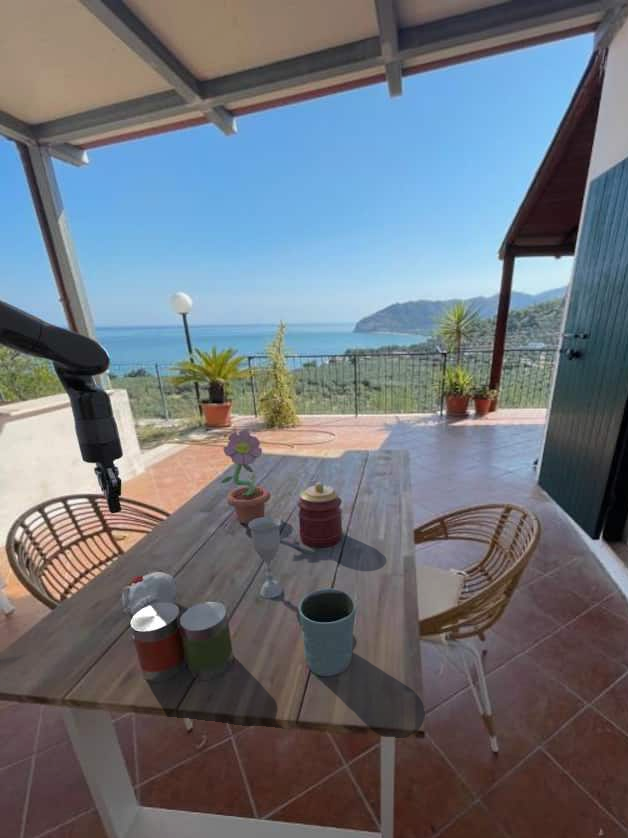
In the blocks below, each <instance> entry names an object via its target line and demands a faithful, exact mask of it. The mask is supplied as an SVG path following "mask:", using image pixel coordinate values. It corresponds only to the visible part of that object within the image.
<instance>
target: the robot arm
mask: <svg viewBox="0 0 628 838" xmlns="http://www.w3.org/2000/svg"><path fill="white" fill-rule="evenodd" d="M0 346H1V347H4V348H7V349H10V350H12V351H15V352H18V353H20V354H23V355H25V356H28V357H32V358H35V359H36V358H37V359H44V360H48V361H51V363H52V366H53V370H54V371H55V374H56V377H57V378H58V379H59V382H60V384H61V386H62V388H63V389H64V391H65V393H66V395H67V396H68V399H69V403H70V408H71V412H72V416H73V420H74V421H73V422H74V431H75V436H76V438H77V439H76V440H77V443H78V447H79V451H80V455H81V459H82V461H83V463H87V464H95V465H96V466H95V467H93V472H94V475H96V479H97V482H98V483H97V484H98V486H99V487H100V490H101V492H102V494H103V496H104V497H105V501H106V504H107V508H108V511H109V513H110V514H117V513H120V512H122V506H121V500H120V497H121V496H122V478H121V477H120V476H119V475H120V469H119V467H118V466H116V465H115V463H114V462H115V460H119V459H122V458H123V456H124V453H123V447H122V443H121V437H120V433H119V428H118V424H117V421H116V419H115V416H114V410H113V407H112V402H111V401H112V400H111V396H110V393H109V392H108V391H107V390H106V389H105V388H102V387H101V386H99V385H98V384H97V382H96V380H95V378H94V377H96V376H97V377H98V376H100V375H103V374H104V373H106V372H107V371H108V370H109V368H110V365H111V358H110V355H109V352H108V351H107V349H106V348H105V347H104V346H103V345H102V344H101V343H99V342H98V341H97V340H95V339H93V338H91V337H89V336H86V335H83V334H80V333H78V332H75V331H72V330H69V329H67V328H65V327H61V326H57V325H54V324H51V323H49V322H47V321H45V320H43V319H41V318H39V317H37V316H36V315H33V314H31V313H29V312H27V311H25V310H23V309H20V308H19V307H16V306H14V305H12V304H10V303H8V302H6V301H2V300H0Z"/></svg>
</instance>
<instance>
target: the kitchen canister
mask: <svg viewBox="0 0 628 838" xmlns="http://www.w3.org/2000/svg"><path fill="white" fill-rule="evenodd" d="M339 494H340V493H339V491H338V490H337V489H335V488H333V487H331V486H329V485H324V484H323V483H322V482H317V483H314V485H313V486H309V487H307V488H305V489H304V490H303V491H301V492H300V494H299V497H300V498H299V500H298V501H297V506H298V507H299V510H298V513H297V514H298V521H299V531H298V532H299V538H300V541H301V542H302V543H303V544H305V545H307V546H311V547H314V548H315V547H316V548H319V547H320V548H321V547H322V548H323V547H328V546H332V545H335V544H337V543H338V542H340V541H341V539H342V535H343V526H342V525H343V523H342V522H343V521H342V513H343V510H342V508H341V505H342V502H343V500H342V498H341V497H339Z"/></svg>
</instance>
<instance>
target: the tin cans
mask: <svg viewBox="0 0 628 838" xmlns="http://www.w3.org/2000/svg"><path fill="white" fill-rule="evenodd" d="M179 609H180V608H179V607H178V606H177V605H176V604H175V603H174V602H172V603H157V604H153V605H150V606H148V607H145V608H144V609H142V610H140V611H139V612H137V613H136V614H135V615H134V616H133V618H132V617H131V620H130V628H131V632H132V639H133V643H134V647H135V651H136V655H137V659H138V662H139V666H140V668H141V673H142V676H143V678H144V679H145V680H147V681H148V682H152V683H153V682H154V683H158V682H159V683H160V682H165V681H168V680H170V679H172V678H174V677H176V676H177V675H179V674H180V673H181V672H182V671H183V670H184V669H185V668H186V666H187V665H188V670H189V674H190V676H191V677H192V678H193V679H195V680H197V681H201V682H205V681H212V680H216V679H218V678H219V677H221V676H222V675H224V674H226V673H227V672H228V671H229V669H230V668H231V667H232V665H233V662H234V656H233V655H234V654H233V645H232V639H231V633H230V632H231V631H230V624H229V619H228V614H227V609H226V606H225V605H224V604H223V603H220V602H217V601H204V602H200V603H197V604H195V605H192V606H191V607H189V608H187V609H186V610H185V611H184V612H183V613H182V614H180V610H179Z"/></svg>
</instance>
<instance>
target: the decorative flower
mask: <svg viewBox="0 0 628 838" xmlns="http://www.w3.org/2000/svg"><path fill="white" fill-rule="evenodd" d="M227 439H228V443H227V445H226V446H224V447H223V448H222V450H223V452H224V454H225V456H227V457H229V458H230V459H231V462H232V463H233V464H236V466H235V468H234V470H233V474H232V475H231V476H230V475H229V476H226V477H224V478H223V479H222V480H221V482H220V484H226V483H229V482H231V481H232V482H233V483H234V484H235V485H237V486H243V487H238V488H235V489H233V490H232V491H230V492H229V493H228V494H227V495H226V503H227V504H228V505H229V506H231V507H234V510H235V514H236V518H237V519H236V520H238V522H239V523H241V524H243V523H244V524H243V525H248V524H249V522H251V521H252V520H254V519H257V518H261V517H265V503H268V501H269V500H270V499H271V493H270V491H269V490H268V489H267V488H265V487H263V486H256V485H255V483H254V482H253V481H254V480H255V477H256V475H253V476H252V475H251V477H250V479H240V478H239V476H240V473H241V470H242V468H244V469H245V470H246V471H247V472H249V473H254V470H253V469H252V468H251V466H250V465H251V464H254V463H255V462H256V461H255V460H256V459H257V458H260V457H261V456H262V453H263V449H262V448H261V447H260V445H261V443H260V441H259V438H258V437H256V436H253V435H251V432H250V431H248V430H239V431H238V433H237V432H232V433H231V434H230V435H229V436H228V438H227Z"/></svg>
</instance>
